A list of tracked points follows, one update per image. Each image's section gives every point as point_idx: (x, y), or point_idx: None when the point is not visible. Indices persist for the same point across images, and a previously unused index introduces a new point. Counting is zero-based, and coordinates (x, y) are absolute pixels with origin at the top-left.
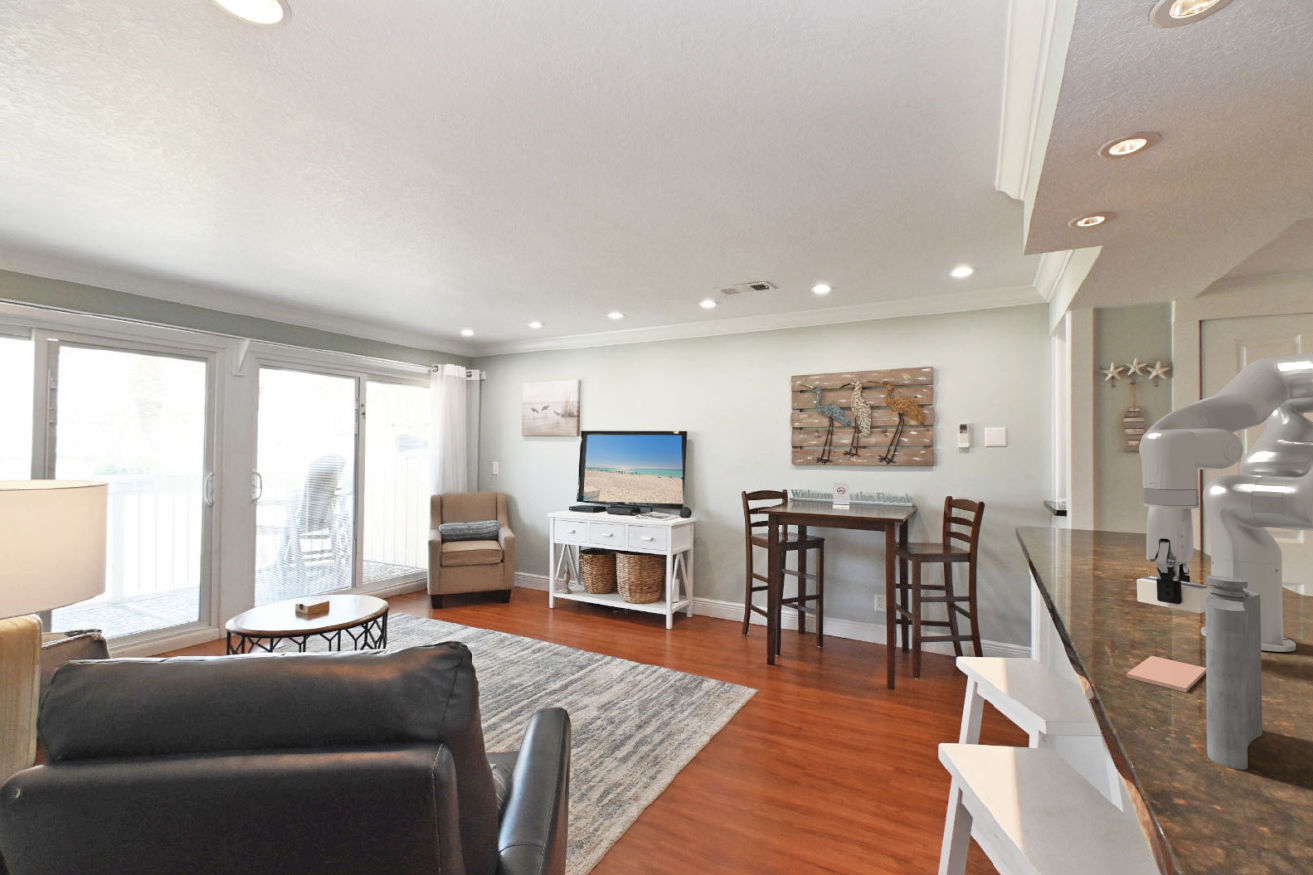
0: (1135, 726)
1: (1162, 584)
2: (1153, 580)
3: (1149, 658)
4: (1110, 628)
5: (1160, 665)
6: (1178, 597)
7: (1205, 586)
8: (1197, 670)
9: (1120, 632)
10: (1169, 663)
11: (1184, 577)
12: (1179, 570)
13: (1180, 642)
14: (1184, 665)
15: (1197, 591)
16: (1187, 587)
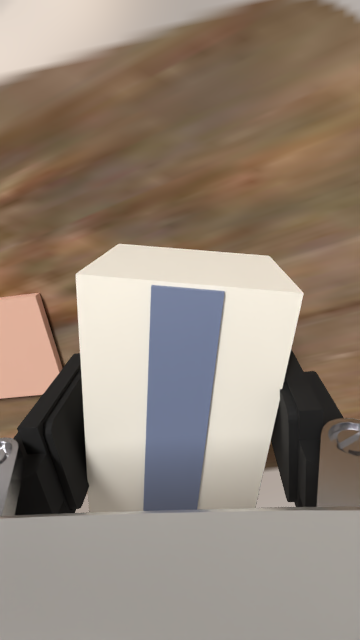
0: None
1: (18, 437)
2: (148, 353)
3: (4, 302)
4: (316, 49)
5: None
6: None
7: None
8: (24, 387)
9: (280, 106)
10: (13, 341)
11: (286, 486)
12: (314, 504)
13: (314, 271)
14: (34, 363)
15: None
16: (103, 505)
